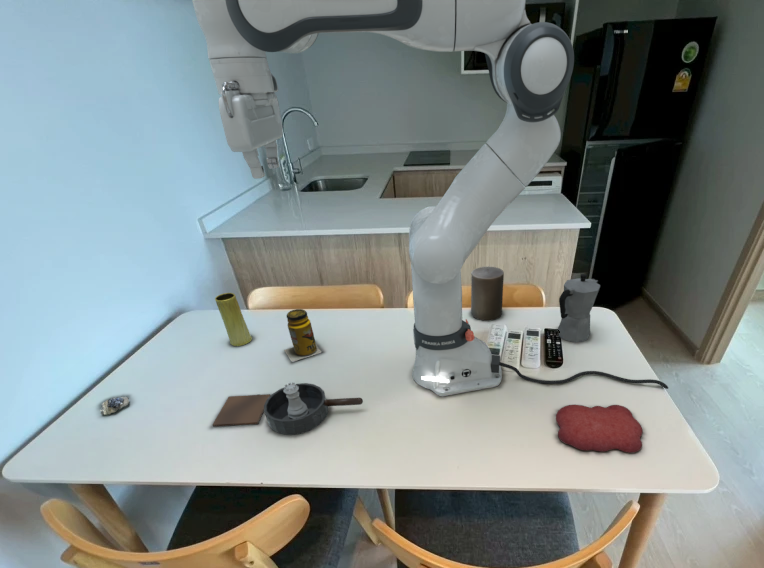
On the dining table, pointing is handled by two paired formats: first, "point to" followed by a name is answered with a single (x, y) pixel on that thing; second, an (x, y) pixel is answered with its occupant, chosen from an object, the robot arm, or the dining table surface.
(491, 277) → the pillar candle
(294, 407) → the rook chess piece
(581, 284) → the coffeepot
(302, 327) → the condiment
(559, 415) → the patty
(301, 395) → the pan
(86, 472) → the dining table surface
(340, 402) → the pan handle
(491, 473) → the dining table surface
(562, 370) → the dining table surface
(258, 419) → the plate
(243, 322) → the vase
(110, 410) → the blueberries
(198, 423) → the dining table surface
